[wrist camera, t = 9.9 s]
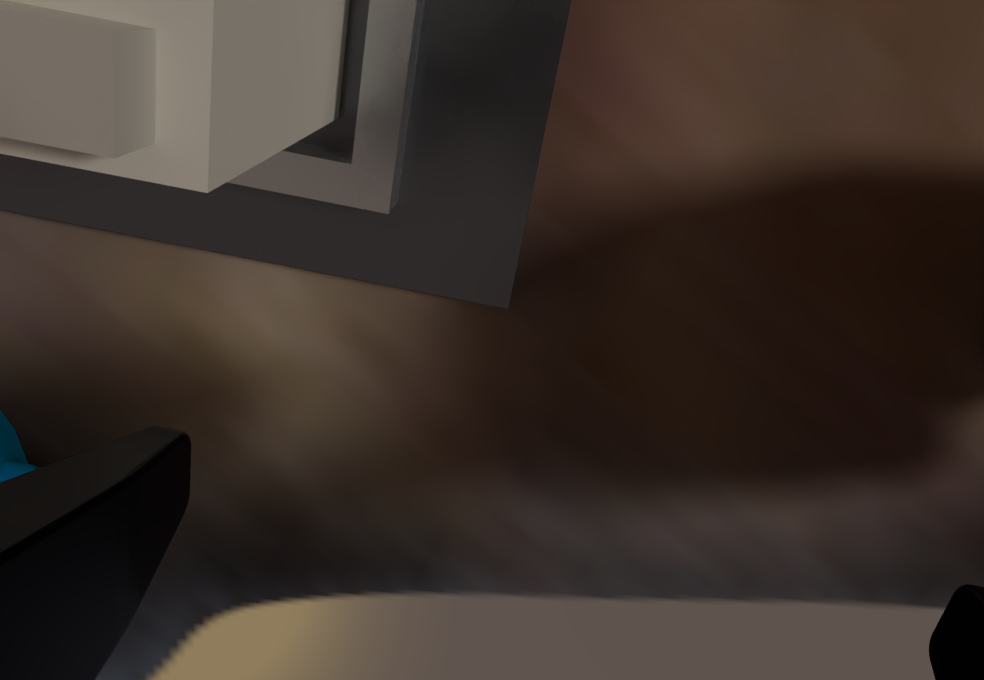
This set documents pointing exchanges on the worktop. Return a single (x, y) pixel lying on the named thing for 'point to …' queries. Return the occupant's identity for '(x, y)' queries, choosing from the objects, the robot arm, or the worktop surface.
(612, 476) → the worktop surface
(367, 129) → the patch board
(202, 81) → the plug
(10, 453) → the mug
